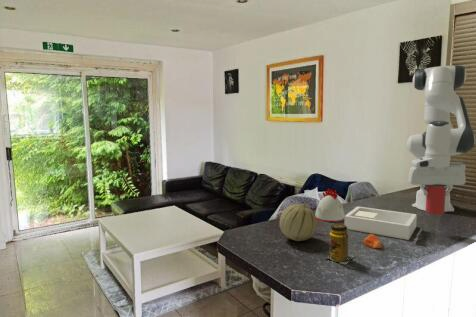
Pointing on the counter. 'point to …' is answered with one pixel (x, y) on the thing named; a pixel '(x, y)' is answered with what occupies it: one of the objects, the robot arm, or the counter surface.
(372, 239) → the rock
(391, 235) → the tray
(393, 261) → the counter surface
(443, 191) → the beer can
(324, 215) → the kitchen timer
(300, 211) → the cantaloupe
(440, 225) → the counter surface
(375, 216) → the cream rectangular box
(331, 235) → the condiment
